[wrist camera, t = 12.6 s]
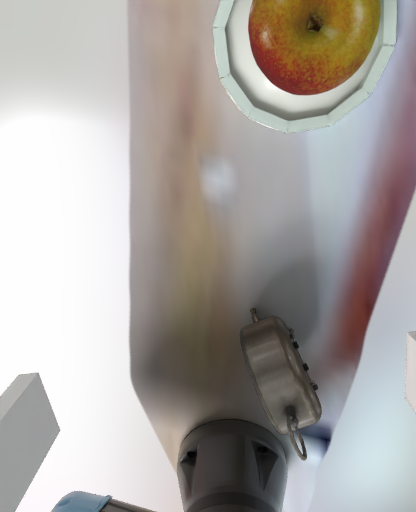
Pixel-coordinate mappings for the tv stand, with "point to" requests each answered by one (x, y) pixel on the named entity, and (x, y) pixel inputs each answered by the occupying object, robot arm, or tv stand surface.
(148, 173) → the tv stand surface
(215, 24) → the dish
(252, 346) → the alarm clock
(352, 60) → the fruit
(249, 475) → the robot arm
